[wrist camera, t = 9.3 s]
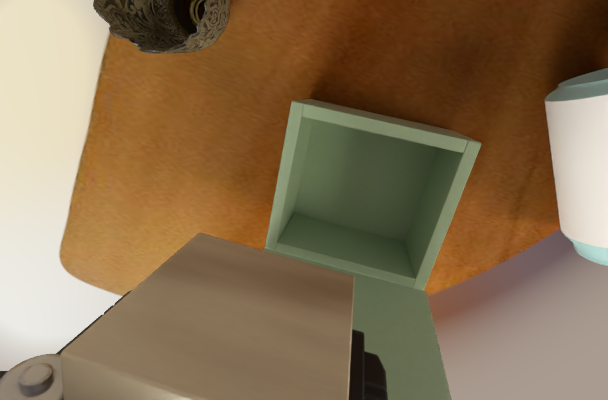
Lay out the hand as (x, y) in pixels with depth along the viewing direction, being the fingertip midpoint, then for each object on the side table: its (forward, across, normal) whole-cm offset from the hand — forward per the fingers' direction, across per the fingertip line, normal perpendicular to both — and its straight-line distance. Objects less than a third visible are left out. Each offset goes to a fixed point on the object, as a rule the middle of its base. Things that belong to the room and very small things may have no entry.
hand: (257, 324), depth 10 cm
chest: (+19, -3, -1) cm, 19 cm away
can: (+16, -16, -12) cm, 25 cm away
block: (0, 0, 0) cm, 0 cm away
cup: (+19, +12, -11) cm, 25 cm away
